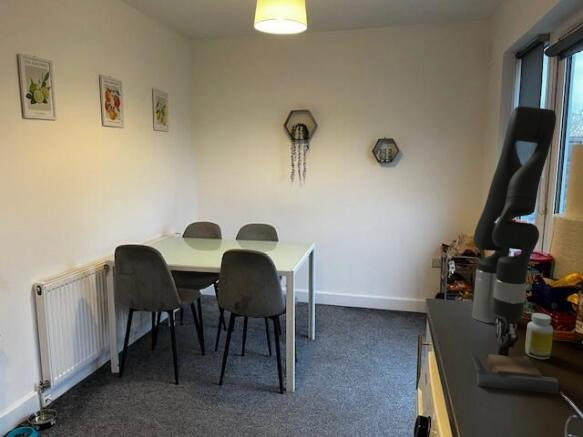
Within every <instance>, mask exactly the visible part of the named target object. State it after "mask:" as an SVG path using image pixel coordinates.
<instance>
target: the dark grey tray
mask: <svg viewBox="0 0 583 437" xmlns="http://www.w3.org/2000/svg"><path fill="white" fill-rule="evenodd" d="M522 357H525V358H529V356H526V355H523V356H522ZM469 358H470V360H471V362H472V364H473V367H474V368H475V370H476V379H475V380H476V381H475V382H476V384H477V386H478V387H487V388H498V389H505V390H506V389H507V390H517V391H527V392H538V393H546V394H558V392H559V391H558V390H559V386H560V385H559V383H560V381H558V379H557V377H550V376H543V374H541V376H531V375H521V374H510V373H500V372H490V371H486V370H484V368H483V366H482V365H481V363H480V361H479V359H478V357H477V355H476V354H475V352H474V351H469ZM529 360H530V361H531V359H530V358H529ZM533 365H534V363H533ZM534 366H535V365H534Z"/></svg>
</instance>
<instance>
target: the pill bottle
mask: <svg viewBox="0 0 583 437" xmlns="http://www.w3.org/2000/svg"><path fill="white" fill-rule="evenodd" d="M531 320H532V321H529V322H528V323H527V325H526V326H527V327H526V336H525V345H524V352H525V354H526V355H528V357H532V358H534V359H538V360H548V359H550V357H551V355H552V346H553V339H554V327H553V326H552V325H551V323H552V317H551V316H550V315H548V314H544V313H540V312H533V313H532V314H531Z"/></svg>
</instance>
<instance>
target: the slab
mask: <svg viewBox="0 0 583 437" xmlns="http://www.w3.org/2000/svg"><path fill="white" fill-rule="evenodd" d="M529 359H530V358H529V357H528V358H525V357H523V356H513V355H511V356H510V355H508V356H503V355H498V354H490V353H487V361H486V368H487V369H488V370H489V372H500V373H510V374H521V375H531V376H541V375H542V373H541V372H540V371H539V369H538V367H536V366H535V365H533V364H534V363H533V362H532V361H531V359H530V360H529Z"/></svg>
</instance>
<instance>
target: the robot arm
mask: <svg viewBox="0 0 583 437" xmlns="http://www.w3.org/2000/svg"><path fill="white" fill-rule="evenodd" d="M556 124H557V115H556V111H555V110H553V109H550V108H549V109H548V108H542V107H534V106H533V107H531V106H521V105H519V106H516V107H515V108H514V109H513V110H512V112H511V114H510V116H509V120H508V123H507V128H506V133H505V135H504V140H503V144H502V147H501V152H500V156H499V160H498V162H497V166H496V168H495V172H494V174H493V175H492V176H493V177H492V180H491V184H490V186H489V191H488V194H487V197H486V201H485V204H484V207H483V210H482V213H481V215H480V217H479V220H478V222H477V225H476V226H475V227H476V228H475V229H474V234H473V244H474V246H475V248H476V249H478V250H481V251H493V253H492V254H491V255H489V256H486V257H482V258H480V259H478V260H477V261H476V269H475V270H476V271H475V281H474V282H475V283H474V291H473V292H474V293H473V301H472V302H473V303H472V314H471V315H472V318H473V319H474V320H475V321H476V320H477V321H479V322H482V323H487V324H494V326H495V337H496V339H497V343H498V348H497V355H503V356H509V352H510V348H514V346H515V345H516V343H517V342H518V340H519V338H520V336H519V334H518V333H516V330H517V323H516V320H517V319H520V318H523V316H524V312H525V304H526V294H527V287H526V286H527V285H526V282H527V275H528V268H529V264H530V260H531V257H532V254H533V252H534V250H535V248H536V246H537V244H538V242H539V240H540V232H539V228H538V227H537V225H535V224H534V223H530V222H521V221H513V220H514V219H516V218H519V217H527V216H530V215H531V216H532V215H533V214H534V213H535V210H536V205H537V200H538V199H537V198H538V192H539V188H540V187H539V186H540V182H541V178H542V175H543V171H544V167H545V165H546V161H547V158H548V154H549V152H550V147H551V144H552V141H553V137H554V133H555V129H556ZM518 142H524V143H532V144H536V147H535V149H534V152H533V153H532V154H531V156H530V157H529V158H528V159H527V160H526V161H525V163H524V164H522V162H521V160H520V157H519V155H518V150H517V143H518ZM510 249H511V250H519V251H520V253H519V254H516V255H510V251H511V250H510Z"/></svg>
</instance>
